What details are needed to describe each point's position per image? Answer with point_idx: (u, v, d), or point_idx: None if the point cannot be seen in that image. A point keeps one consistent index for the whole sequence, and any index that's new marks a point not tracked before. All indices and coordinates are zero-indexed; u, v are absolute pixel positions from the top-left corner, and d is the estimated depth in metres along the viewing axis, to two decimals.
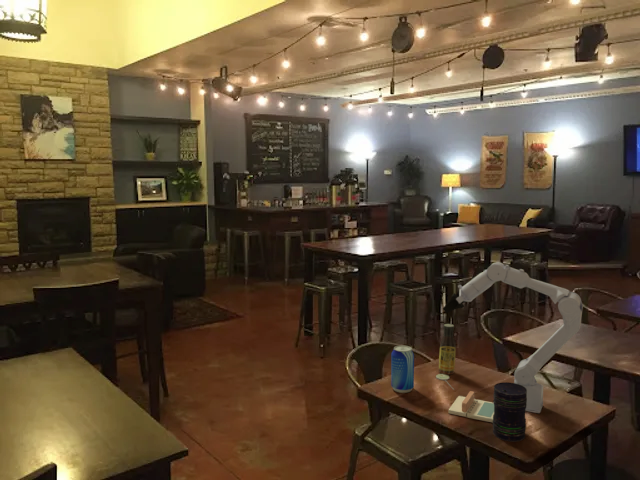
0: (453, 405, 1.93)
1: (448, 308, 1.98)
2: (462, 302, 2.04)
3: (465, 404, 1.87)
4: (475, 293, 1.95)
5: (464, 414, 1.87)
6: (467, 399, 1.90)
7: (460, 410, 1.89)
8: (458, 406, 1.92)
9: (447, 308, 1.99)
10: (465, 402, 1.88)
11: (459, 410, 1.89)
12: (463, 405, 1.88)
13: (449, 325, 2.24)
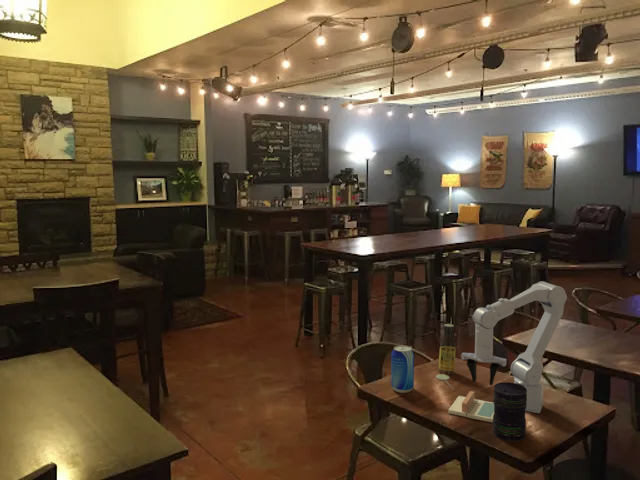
0: (453, 405, 1.93)
1: (493, 378, 1.87)
2: None
3: (465, 404, 1.87)
4: None
5: (464, 414, 1.87)
6: (467, 399, 1.90)
7: (460, 410, 1.89)
8: (458, 406, 1.92)
9: (493, 380, 1.87)
10: (465, 402, 1.88)
11: (459, 410, 1.89)
12: (463, 405, 1.88)
13: (449, 325, 2.24)
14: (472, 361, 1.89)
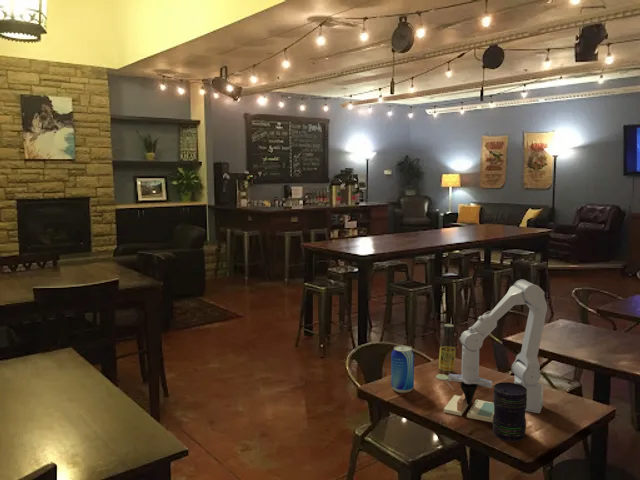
0: (448, 404, 1.93)
1: (471, 398, 1.92)
2: None
3: (460, 403, 1.88)
4: None
5: (459, 413, 1.88)
6: (462, 398, 1.91)
7: (455, 409, 1.90)
8: (453, 405, 1.93)
9: (471, 399, 1.92)
10: (460, 401, 1.89)
11: (454, 409, 1.90)
12: (458, 404, 1.88)
13: (449, 325, 2.24)
14: (466, 384, 1.91)
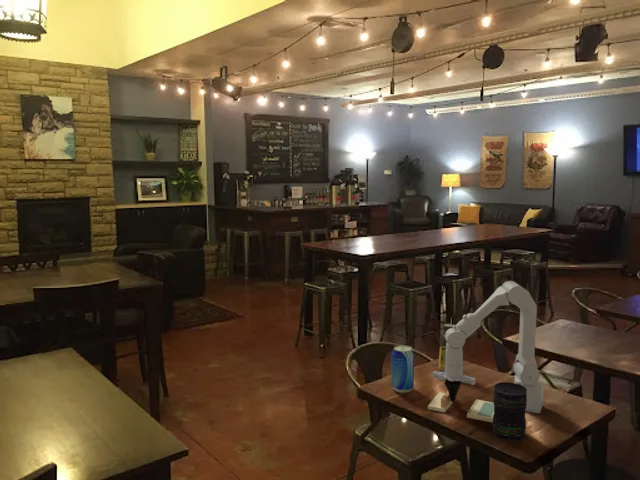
0: (433, 401, 1.96)
1: (455, 395, 1.95)
2: None
3: (444, 400, 1.91)
4: None
5: (443, 410, 1.90)
6: (446, 395, 1.94)
7: (439, 406, 1.92)
8: (438, 402, 1.95)
9: (455, 396, 1.94)
10: (444, 398, 1.91)
11: (438, 406, 1.92)
12: (442, 401, 1.91)
13: (449, 325, 2.24)
14: (450, 381, 1.94)
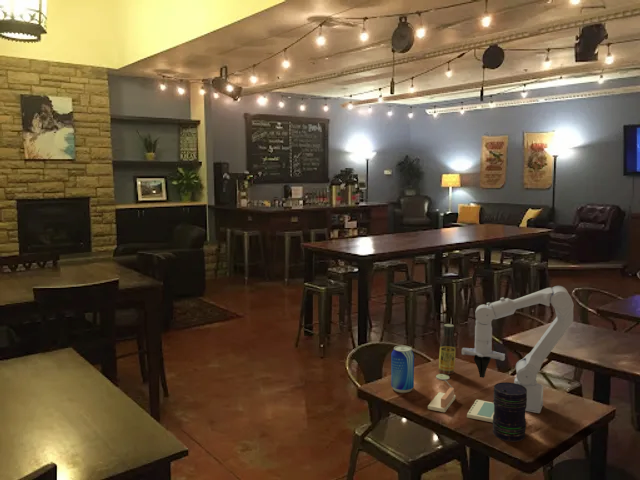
0: (433, 401, 1.96)
1: (485, 371, 1.97)
2: None
3: (444, 400, 1.91)
4: None
5: (443, 410, 1.90)
6: (446, 395, 1.94)
7: (439, 406, 1.92)
8: (437, 402, 1.95)
9: (484, 372, 1.96)
10: (444, 398, 1.91)
11: (438, 406, 1.92)
12: (442, 401, 1.91)
13: (449, 325, 2.24)
14: (479, 357, 1.96)
